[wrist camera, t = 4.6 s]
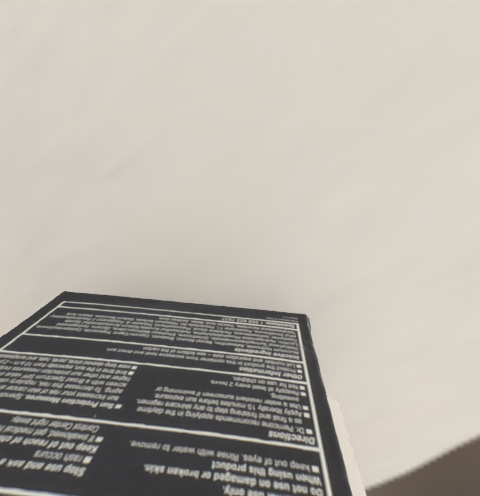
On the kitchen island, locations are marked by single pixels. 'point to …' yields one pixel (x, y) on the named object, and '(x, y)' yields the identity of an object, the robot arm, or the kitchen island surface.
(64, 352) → the small box
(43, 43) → the kitchen island surface
